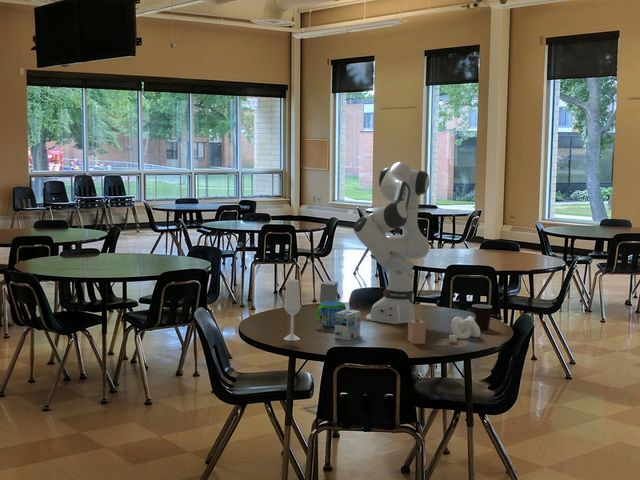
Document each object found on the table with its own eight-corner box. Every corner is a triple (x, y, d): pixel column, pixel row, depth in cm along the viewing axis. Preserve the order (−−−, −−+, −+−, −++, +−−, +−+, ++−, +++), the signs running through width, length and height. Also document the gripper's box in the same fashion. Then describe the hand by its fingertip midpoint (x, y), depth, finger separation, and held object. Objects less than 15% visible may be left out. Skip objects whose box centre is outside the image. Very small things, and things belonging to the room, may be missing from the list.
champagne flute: (284, 336, 346) (285, 278, 343) (301, 337, 345) (302, 279, 342) (282, 340, 339) (283, 281, 336) (298, 340, 338) (300, 282, 336)
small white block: (448, 343, 336) (448, 336, 336) (449, 341, 339) (449, 334, 338) (455, 344, 335) (456, 336, 335) (457, 342, 338) (457, 335, 337)
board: (434, 347, 333) (435, 344, 333) (440, 340, 345) (440, 338, 344) (465, 350, 329) (465, 347, 329) (469, 343, 341) (470, 341, 341)
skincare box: (323, 313, 394) (323, 280, 393) (337, 314, 392) (338, 281, 391) (318, 316, 386) (318, 282, 384) (333, 317, 384) (334, 283, 383)
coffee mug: (491, 331, 364) (492, 308, 363) (470, 329, 366) (471, 307, 365) (491, 325, 376) (492, 303, 374) (471, 324, 377) (472, 302, 376)
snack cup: (322, 329, 359) (323, 306, 358) (309, 325, 368) (310, 302, 367) (352, 326, 368) (353, 303, 367) (338, 321, 377) (339, 299, 375)
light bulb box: (347, 340, 341) (348, 314, 339) (333, 338, 344) (334, 312, 343) (360, 336, 350) (361, 310, 348) (346, 333, 353) (347, 308, 352)
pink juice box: (412, 345, 334) (413, 320, 333) (407, 341, 340) (408, 317, 339) (425, 344, 335) (426, 320, 334) (420, 341, 341) (421, 316, 340)
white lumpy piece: (459, 342, 342) (460, 321, 341) (443, 336, 353) (444, 315, 352) (482, 340, 346) (483, 319, 345) (466, 334, 357) (467, 313, 356)
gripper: (403, 246, 319) (425, 271, 324) (378, 244, 338) (399, 267, 342) (392, 258, 318) (415, 283, 322) (368, 255, 336) (389, 279, 341)
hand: (406, 275), depth 332 cm, fingers open, 8 cm apart
